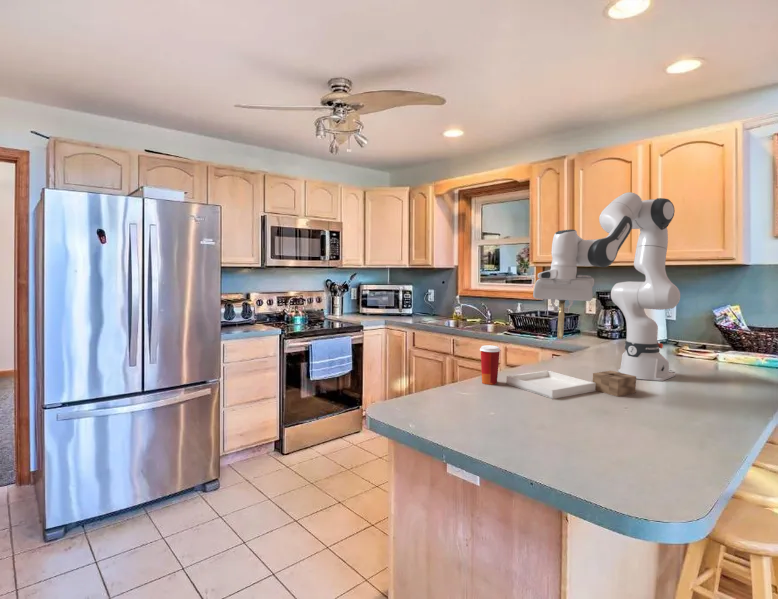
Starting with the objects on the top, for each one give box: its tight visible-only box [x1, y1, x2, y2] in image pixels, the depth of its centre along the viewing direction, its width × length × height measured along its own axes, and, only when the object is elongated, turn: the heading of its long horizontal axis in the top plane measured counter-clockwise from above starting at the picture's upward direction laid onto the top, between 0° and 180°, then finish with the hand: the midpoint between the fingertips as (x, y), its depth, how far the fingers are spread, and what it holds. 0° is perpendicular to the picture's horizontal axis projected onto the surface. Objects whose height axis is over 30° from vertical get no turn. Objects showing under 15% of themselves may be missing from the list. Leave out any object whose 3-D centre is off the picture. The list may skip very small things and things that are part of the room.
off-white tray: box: [505, 370, 596, 400], centre depth 167 cm, size 22×22×3 cm
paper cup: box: [479, 344, 501, 386], centre depth 172 cm, size 8×8×14 cm
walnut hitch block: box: [592, 370, 637, 397], centre depth 163 cm, size 10×10×6 cm
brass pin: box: [556, 300, 567, 340], centre depth 165 cm, size 3×3×15 cm
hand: (561, 312), depth 164 cm, fingers closed on brass pin, 2 cm apart
